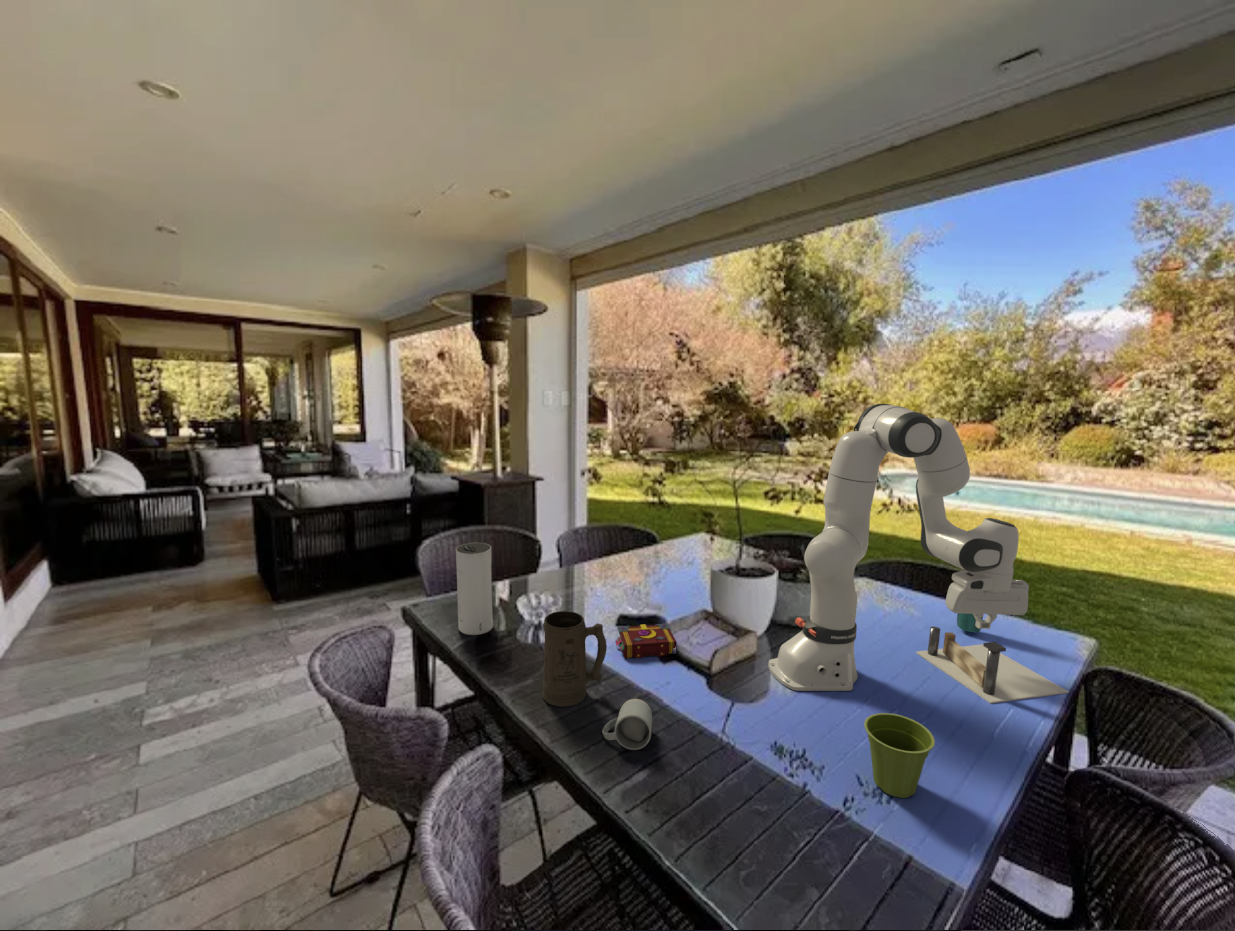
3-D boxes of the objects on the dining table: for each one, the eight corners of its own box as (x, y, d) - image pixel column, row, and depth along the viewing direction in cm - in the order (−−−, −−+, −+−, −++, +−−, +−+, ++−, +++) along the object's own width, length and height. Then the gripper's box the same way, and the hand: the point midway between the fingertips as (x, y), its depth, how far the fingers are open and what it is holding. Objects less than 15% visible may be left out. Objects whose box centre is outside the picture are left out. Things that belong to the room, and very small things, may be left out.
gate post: (988, 698, 134) (995, 649, 131) (977, 690, 137) (983, 642, 134) (999, 696, 134) (1006, 648, 132) (988, 689, 137) (994, 641, 135)
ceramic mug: (652, 726, 122) (652, 694, 121) (651, 751, 114) (651, 717, 113) (605, 724, 123) (604, 692, 122) (600, 748, 115) (599, 715, 114)
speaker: (496, 632, 165) (493, 549, 161) (460, 638, 161) (456, 553, 157) (490, 618, 175) (488, 539, 170) (456, 623, 171) (453, 542, 167)
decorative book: (677, 656, 153) (677, 639, 152) (619, 660, 150) (619, 643, 149) (667, 637, 164) (667, 621, 163) (613, 640, 161) (613, 625, 160)
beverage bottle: (984, 638, 164) (992, 574, 161) (960, 636, 165) (967, 572, 162) (975, 628, 170) (983, 566, 167) (951, 626, 172) (958, 565, 168)
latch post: (931, 657, 152) (934, 630, 151) (925, 653, 155) (928, 626, 153) (939, 656, 153) (942, 630, 152) (932, 652, 155) (935, 626, 154)
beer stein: (542, 710, 127) (547, 629, 124) (536, 685, 137) (540, 609, 134) (606, 705, 131) (612, 626, 128) (596, 680, 142) (601, 607, 138)
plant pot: (906, 762, 111) (911, 711, 109) (942, 808, 100) (949, 752, 98) (848, 763, 111) (853, 712, 109) (878, 809, 99) (883, 753, 97)
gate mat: (990, 703, 131) (990, 702, 131) (915, 652, 155) (915, 651, 155) (1068, 692, 136) (1068, 691, 136) (984, 645, 160) (984, 644, 160)
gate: (988, 687, 137) (991, 665, 136) (980, 687, 137) (983, 664, 136) (950, 652, 154) (952, 632, 153) (942, 652, 154) (945, 632, 153)
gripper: (1020, 575, 148) (1011, 623, 151) (946, 573, 148) (938, 621, 150) (1038, 585, 142) (1029, 634, 145) (961, 582, 141) (952, 632, 144)
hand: (982, 627), depth 147 cm, fingers closed
